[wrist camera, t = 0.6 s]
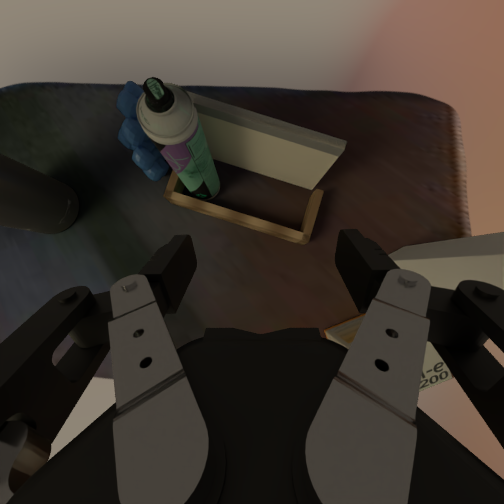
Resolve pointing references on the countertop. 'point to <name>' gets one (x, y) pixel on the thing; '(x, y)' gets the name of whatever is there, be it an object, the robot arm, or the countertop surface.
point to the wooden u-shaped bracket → (302, 237)
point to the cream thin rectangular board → (266, 143)
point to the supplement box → (433, 363)
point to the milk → (456, 260)
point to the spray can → (178, 135)
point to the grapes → (138, 135)
